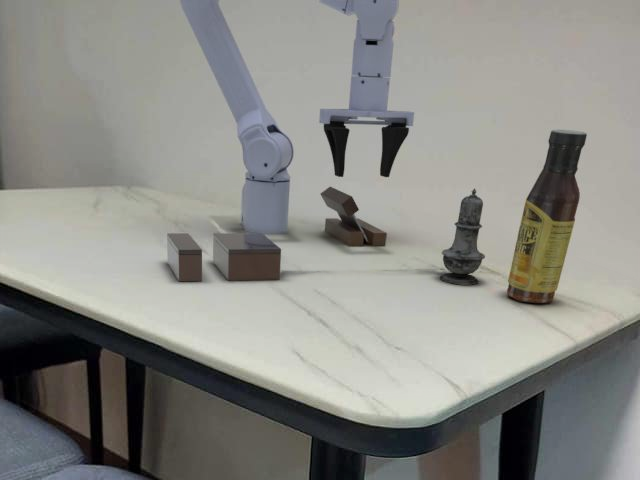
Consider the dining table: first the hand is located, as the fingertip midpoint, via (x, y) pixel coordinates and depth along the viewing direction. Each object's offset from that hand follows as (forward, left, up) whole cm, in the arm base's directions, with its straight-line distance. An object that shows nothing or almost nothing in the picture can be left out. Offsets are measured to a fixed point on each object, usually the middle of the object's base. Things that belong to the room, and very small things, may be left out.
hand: (361, 176), depth 114 cm
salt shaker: (+23, +7, -11) cm, 26 cm away
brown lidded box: (+16, -22, -10) cm, 29 cm away
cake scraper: (0, 0, -9) cm, 9 cm away
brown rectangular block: (+16, -31, -10) cm, 36 cm away
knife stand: (0, 0, -10) cm, 10 cm away
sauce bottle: (+33, +12, -11) cm, 36 cm away
